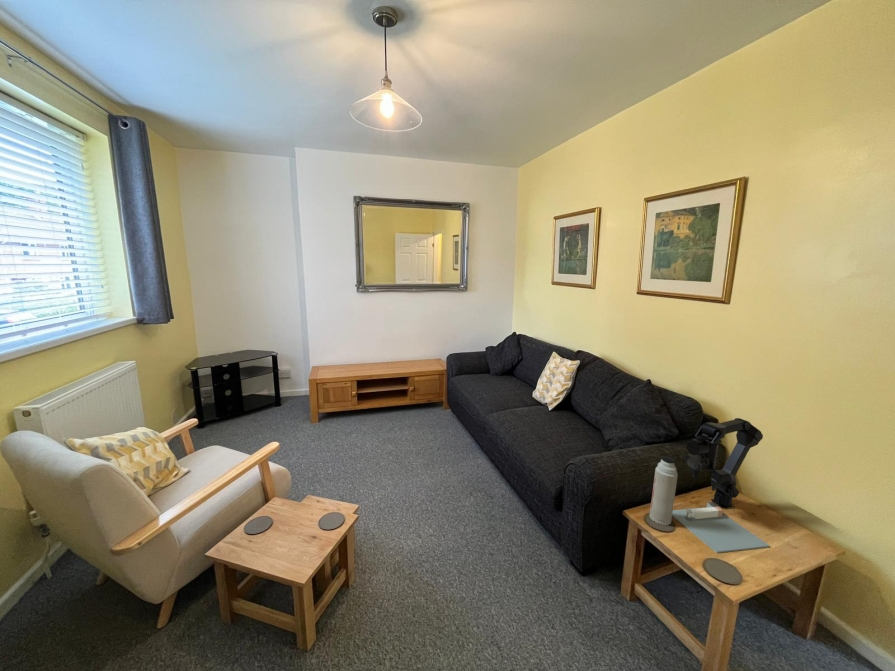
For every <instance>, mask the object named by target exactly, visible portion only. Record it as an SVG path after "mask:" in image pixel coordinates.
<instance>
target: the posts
mask: <svg viewBox="0 0 895 671" xmlns="http://www.w3.org/2000/svg"><path fill="white" fill-rule="evenodd" d="M710 507H719V508H720V506H718V505H717V504H716V503H714V502H713V501H711V502H706V508H710ZM692 515H693V512H692V511H690V510H686V515H685V519H687V520H689V521H691V520H692Z"/></svg>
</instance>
